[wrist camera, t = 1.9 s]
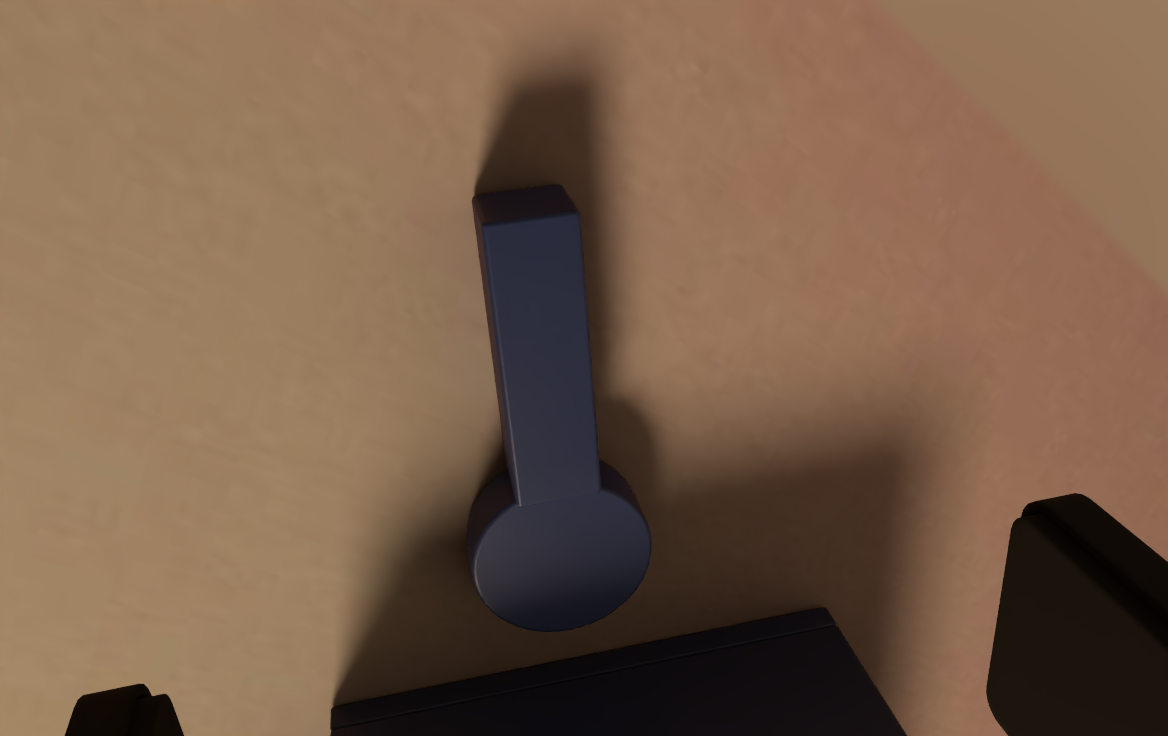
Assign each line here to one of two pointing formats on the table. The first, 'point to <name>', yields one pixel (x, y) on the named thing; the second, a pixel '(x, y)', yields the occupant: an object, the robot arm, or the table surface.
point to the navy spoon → (547, 430)
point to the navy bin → (657, 691)
